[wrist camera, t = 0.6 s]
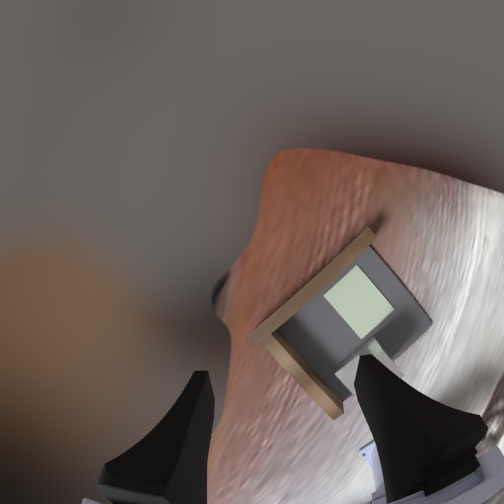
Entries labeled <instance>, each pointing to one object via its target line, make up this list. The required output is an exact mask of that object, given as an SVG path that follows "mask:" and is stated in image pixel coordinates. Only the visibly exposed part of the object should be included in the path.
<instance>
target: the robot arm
mask: <svg viewBox="0 0 504 504" xmlns="http://www.w3.org/2000/svg"><path fill="white" fill-rule="evenodd" d="M354 388H355V391H356V395H357V399H358V402H359V404H360V407H361V409H362V411H363V414H364V416H365V418H366V421H367V423H368V425H369V428H370V430H371V433H372V435H373V438H374V441H373V442H371V443H370V444H368V445H367V446H365V447H364V448H362V449H360V450H359V451H358V454H359V455H360V456H361V457H362V458H363V459H364V460H365V461H366V462H367V463H369V464H370V465H371V466H372V469H373V476H374V482H375V489H376V492H374V493H372V500H373V501H369V502H367V503H366V504H482V503H483V502H485V501H486V500H488V499H489V498H490V497H492V496H493V495H494V494H496V493H497V492H498V491H499V490H501V489H502V488H503V487H504V456H503V454H502V453H501V451H500V449H499V448H498V446H495V447H493V448H492V449H490V450H489V451H487V452H485V453H484V454H482V455H481V456H480V457H479V458H476V456H475V455H476V454H477V450H476V448H475V447H476V446H477V444H478V443H479V442H480V441H481V440H482V438H483V437H484V436H485V434H486V433H487V430H488V426H487V425H486V423H485V422H484V420H483V419H482V417H481V416H480V415H477V414H472V413H468V412H464V411H460V410H457V409H454V408H451V407H449V406H446V405H444V404H442V403H439V402H437V401H435V400H433V399H431V398H429V397H428V396H426V395H424V394H422V393H421V392H419V391H417V390H416V389H414V388H413V387H411V386H410V385H409V384H407V383H406V382H404V381H403V380H402V379H401V378H399V377H398V376H397V375H396V374H394V373H393V372H392V371H391V370H389V369H388V368H387V367H386V366H385V365H384V364H383V363H381V362H380V361H379V360H378V359H377V358H376V357H375V356H373V355H372V354H367V355H362V356H360V357H359V362H358V367H357V372H356V376H355V381H354ZM214 404H215V398H214V394H213V390H212V386H211V382H210V377H209V373H208V371H195V372H193V374H192V376H191V378H190V380H189V382H188V384H187V385H186V387H185V388H184V390H183V392H182V393H181V395H180V396H179V397H178V399H177V401H176V402H175V403H174V405H173V406H172V407H171V409H170V410H169V411H168V412H167V414H166V415H165V416H164V418H163V419H162V420H161V421H160V422H159V423H158V424H157V426H155V427H154V428H153V429H152V430H151V431H150V432H149V433H148V434H147V435H146V436H145V437H144V438H143V439H142V440H140V441H139V442H138V443H137V444H135V445H134V446H133V447H131V448H130V449H129V450H127V451H126V452H125V453H123V454H121V455H120V456H118V457H116V458H114V459H113V460H111V461H109V462H107V463H105V465H104V467H103V469H102V471H101V474H100V476H99V479H98V482H97V486H96V487H97V489H98V491H100V493H101V494H103V495H104V496H105V497H106V498H108V499H109V500H110V501H112V502H113V504H207V461H208V452H209V446H210V439H211V433H212V427H213V421H214ZM364 453H365V454H364ZM82 504H101V503H98V502H95V501H92V500H89V499H86V498H84V499H83V501H82Z"/></svg>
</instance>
